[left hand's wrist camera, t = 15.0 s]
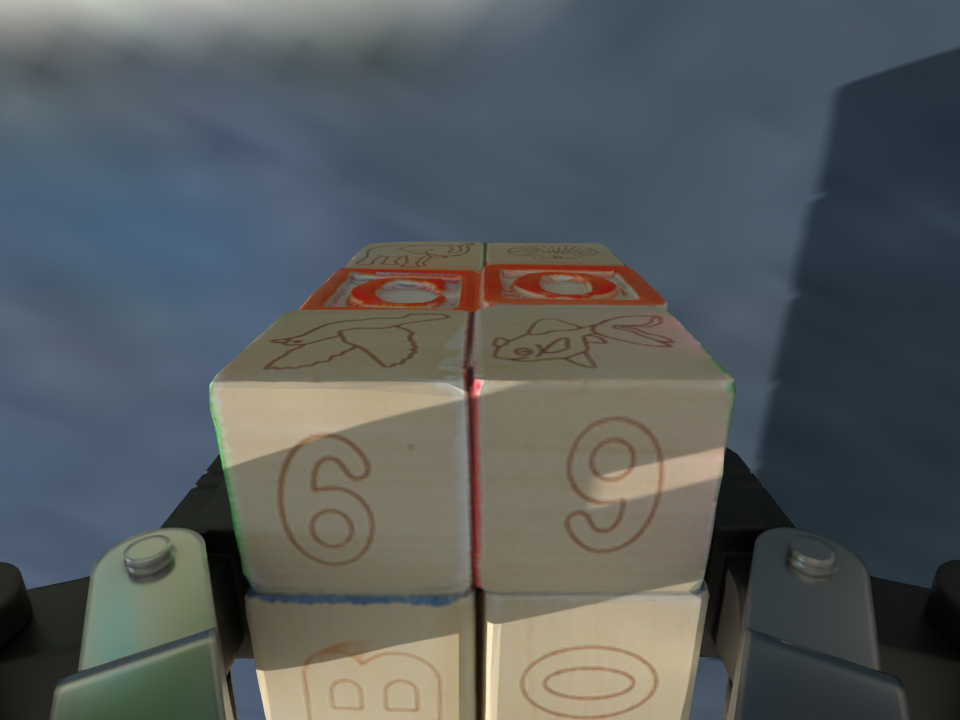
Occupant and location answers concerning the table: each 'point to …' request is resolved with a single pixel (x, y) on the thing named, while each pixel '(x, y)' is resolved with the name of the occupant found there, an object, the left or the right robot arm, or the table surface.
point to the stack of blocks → (475, 489)
